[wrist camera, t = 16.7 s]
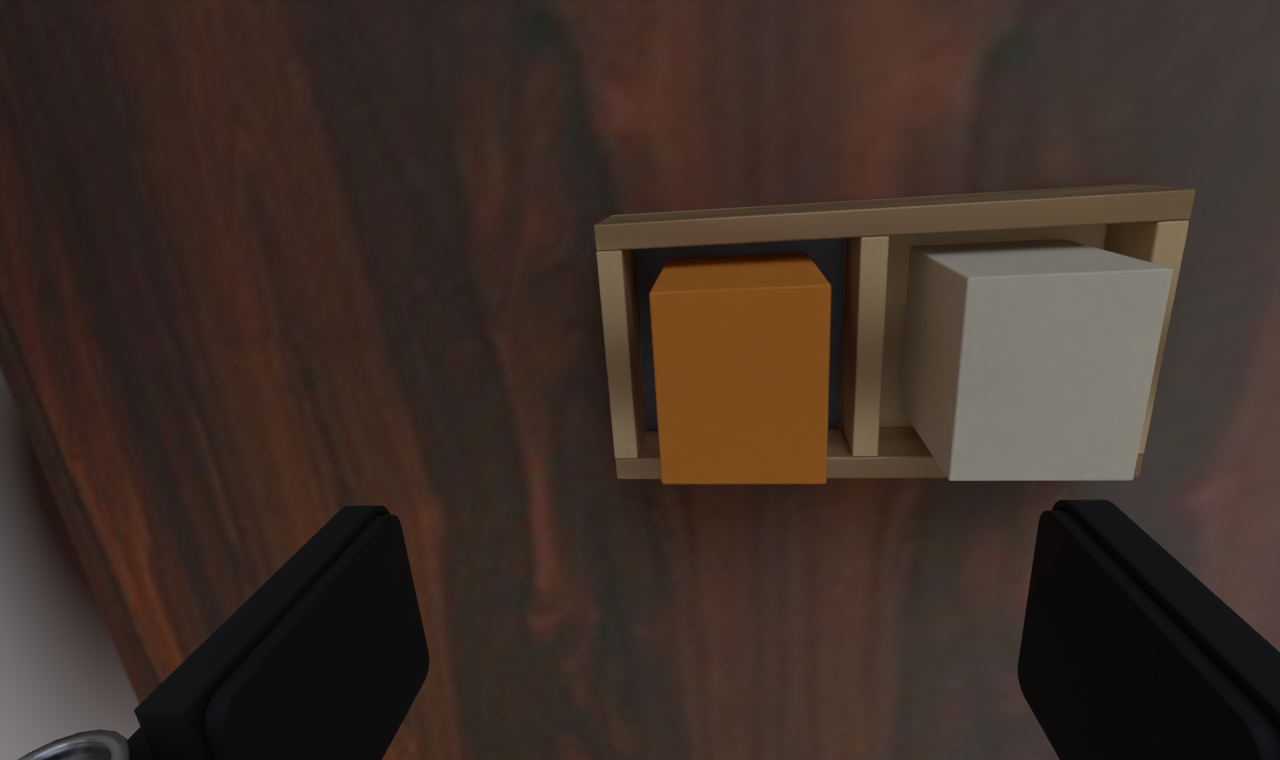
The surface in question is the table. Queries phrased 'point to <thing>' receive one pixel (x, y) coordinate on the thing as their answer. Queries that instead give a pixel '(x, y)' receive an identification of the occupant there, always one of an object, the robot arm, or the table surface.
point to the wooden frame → (858, 295)
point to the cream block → (1031, 358)
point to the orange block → (742, 369)
